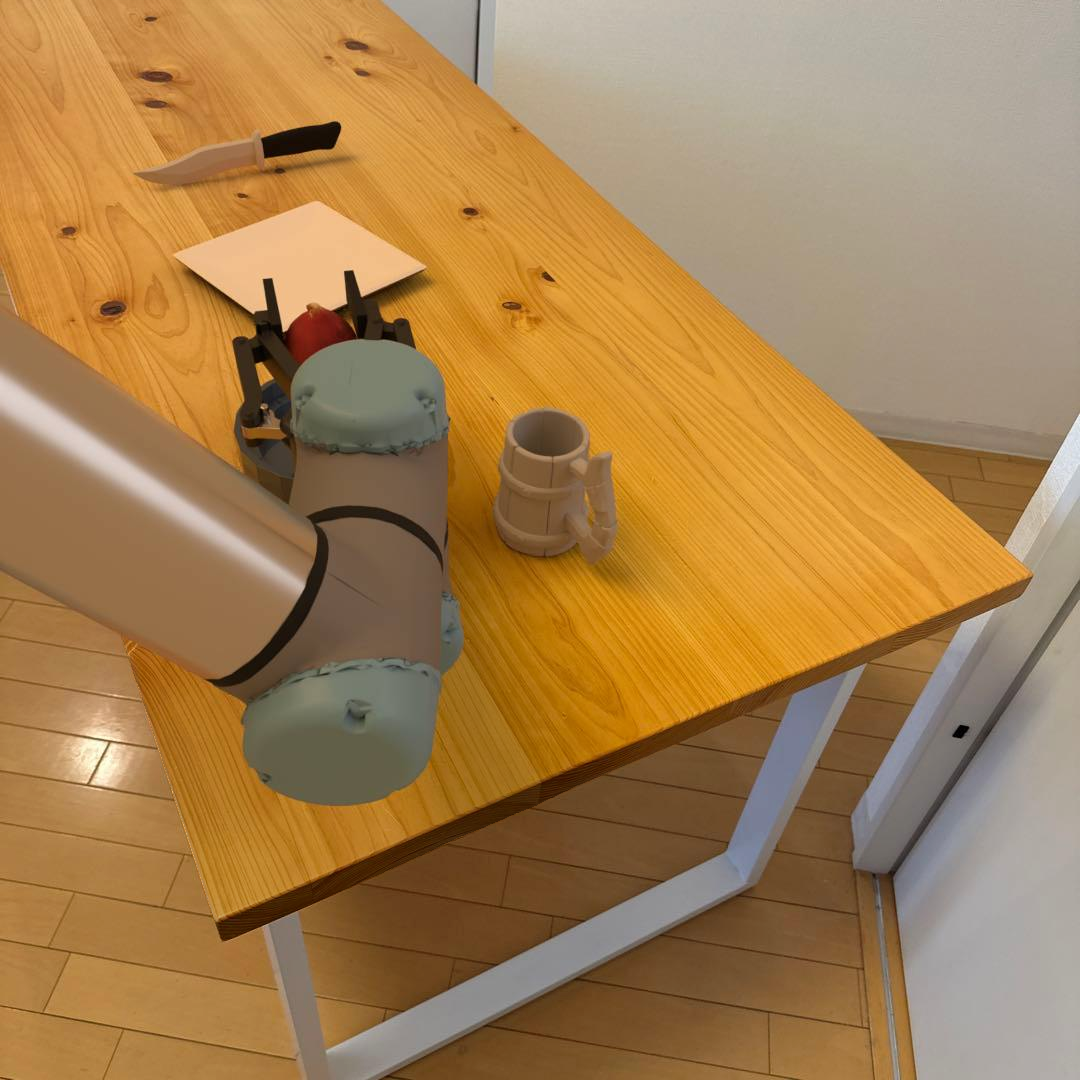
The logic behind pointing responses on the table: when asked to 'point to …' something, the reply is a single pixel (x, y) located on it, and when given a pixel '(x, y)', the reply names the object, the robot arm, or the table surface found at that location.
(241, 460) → the bowl
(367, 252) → the plate
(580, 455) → the mug
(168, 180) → the knife
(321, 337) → the onion
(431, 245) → the table surface
